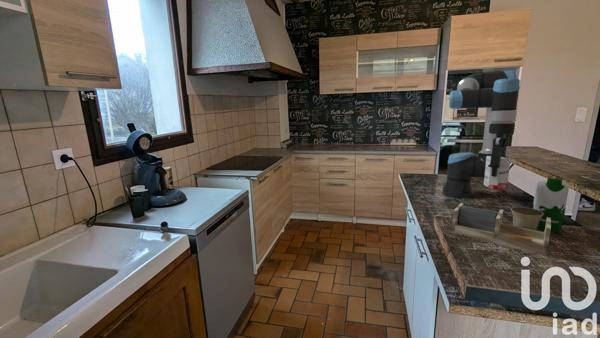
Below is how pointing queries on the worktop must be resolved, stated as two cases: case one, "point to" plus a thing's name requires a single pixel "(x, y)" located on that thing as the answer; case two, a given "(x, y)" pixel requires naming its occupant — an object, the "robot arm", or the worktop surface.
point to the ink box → (502, 174)
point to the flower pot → (526, 217)
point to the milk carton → (551, 203)
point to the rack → (498, 230)
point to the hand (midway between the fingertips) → (495, 182)
